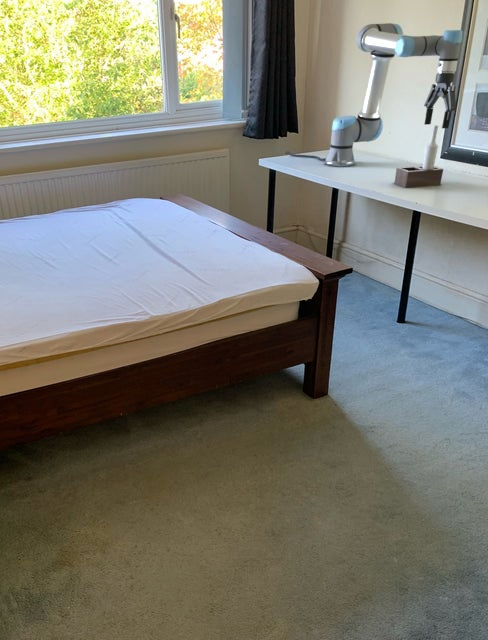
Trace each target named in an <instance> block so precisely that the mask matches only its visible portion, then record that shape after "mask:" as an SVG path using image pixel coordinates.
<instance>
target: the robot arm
mask: <svg viewBox="0 0 488 640" xmlns="http://www.w3.org/2000/svg"><path fill="white" fill-rule="evenodd" d="M463 34H464V33H463V30H462V29H448V30H444V31H443V34H442V35H436V34H434V35H418V36H417V35H415V36H414V35H407V34H406V35H405V34H404V32H403V29H402V26H401V25H400V24H398V23H393V22H389V23H387V22H386V23H370V24H366V25H364V26H363V27H362V28H361V29H360V30H359V31H358V33H357V35H356V46H357V47H358V49H359V50H360V51H362V52H365V53H369V55H370V57H371V59H372V60H371V65H370V70H369V74H368V79H367V84H366V89H365V93H364V98H363V103H362V107H361V110H360V111H358V113H357V116H355V115H342V116H338V117H336V118H334V119H333V121H332V127H331V137H330V146H329V151H328V153H327V156H326V157H324V158H323V157H322V158H321V157H319V156H317V155H310V154H309V155H308V154H293V153H291V152H290V151H288V150H287V151H286V152H285V153H284V154H285V155H289V157H299V158H300V157H301V158H313V159H318V160H319V161H324V162H325V163H324V164H325V165H326V166H330V167H336V168H337V167H339V168H341V167H343V168H344V167H351V166H354V165H355V156H354V151H353V147H354V143H362V142H363V143H369V142H373V141H376V140H377V139H378V138H379V137H380V136H381V134H382V132H383V128H384V124H383V123H384V121H383V119H382V117H381V114H380V112H379V111H380V107H381V102H382V98H383V93H384V90H385V85H386V81H387V77H388V72H389V67H390V63H391V60H393V59H394V57H395V55H396V56H397V57H399V58H410V57H439V58H438V64H437V70H436V71H437V73H436V75H435V80H434V82H435V83H432V84H431V88H430V90H429V93H428V95H427V97H426V100H425V101H424V105H423V106H424V107H425V108H426V112H425V118H424V124H423V125H425V126H426V125H431V124H432V118H433V113H434V106H435V105H436V103H437V101H438V100H439V98H442V99H443V102H444V106H445V111H444V115H443V120H442V125H441V129H449V127H450V123H451V118H452V113H453V112H454V111H455V112H456V111H457V100H456V85H452V83H454V81H455V76H456V73H455V72H457V66H458V62H459V56H460V50H461V46H462V41H463Z"/></svg>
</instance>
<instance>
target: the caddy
mask: <svg viewBox="0 0 488 640" xmlns="http://www.w3.org/2000/svg"><path fill="white" fill-rule="evenodd" d="M422 167H423V165H415V166H403V167H402V166H401V167H396V171H395V176H394V184H395V185H398V186H400V187H402V188H405V189H407V188H409V189H410V188H419V187H420V188H421V187H432V186H440V185H441V184H442V179H443V173H444V168H441V167H439V166H435V165H434V168H433V169H430V170H424V169H422Z"/></svg>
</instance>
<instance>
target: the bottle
mask: <svg viewBox="0 0 488 640" xmlns="http://www.w3.org/2000/svg"><path fill="white" fill-rule="evenodd" d="M438 130H439V125H433V126H432V132H431V137H430V141H429V143H427V144H426V145H425V149H424V155H423V163H422V166H423V167H422V169H424V170H430V169H433V168H434V166H435V163H436V157H437V153H438V148H439V146H438V144H437V141H436V139H437V135H438Z"/></svg>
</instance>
